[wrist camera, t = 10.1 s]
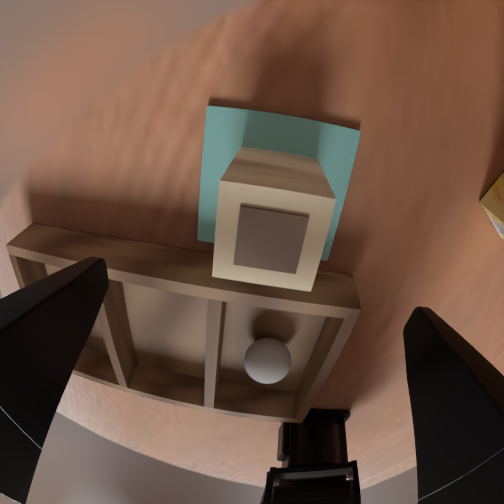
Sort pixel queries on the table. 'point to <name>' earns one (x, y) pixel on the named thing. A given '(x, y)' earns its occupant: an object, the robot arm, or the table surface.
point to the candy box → (495, 205)
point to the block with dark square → (272, 219)
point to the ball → (267, 360)
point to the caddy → (196, 324)
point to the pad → (274, 139)
